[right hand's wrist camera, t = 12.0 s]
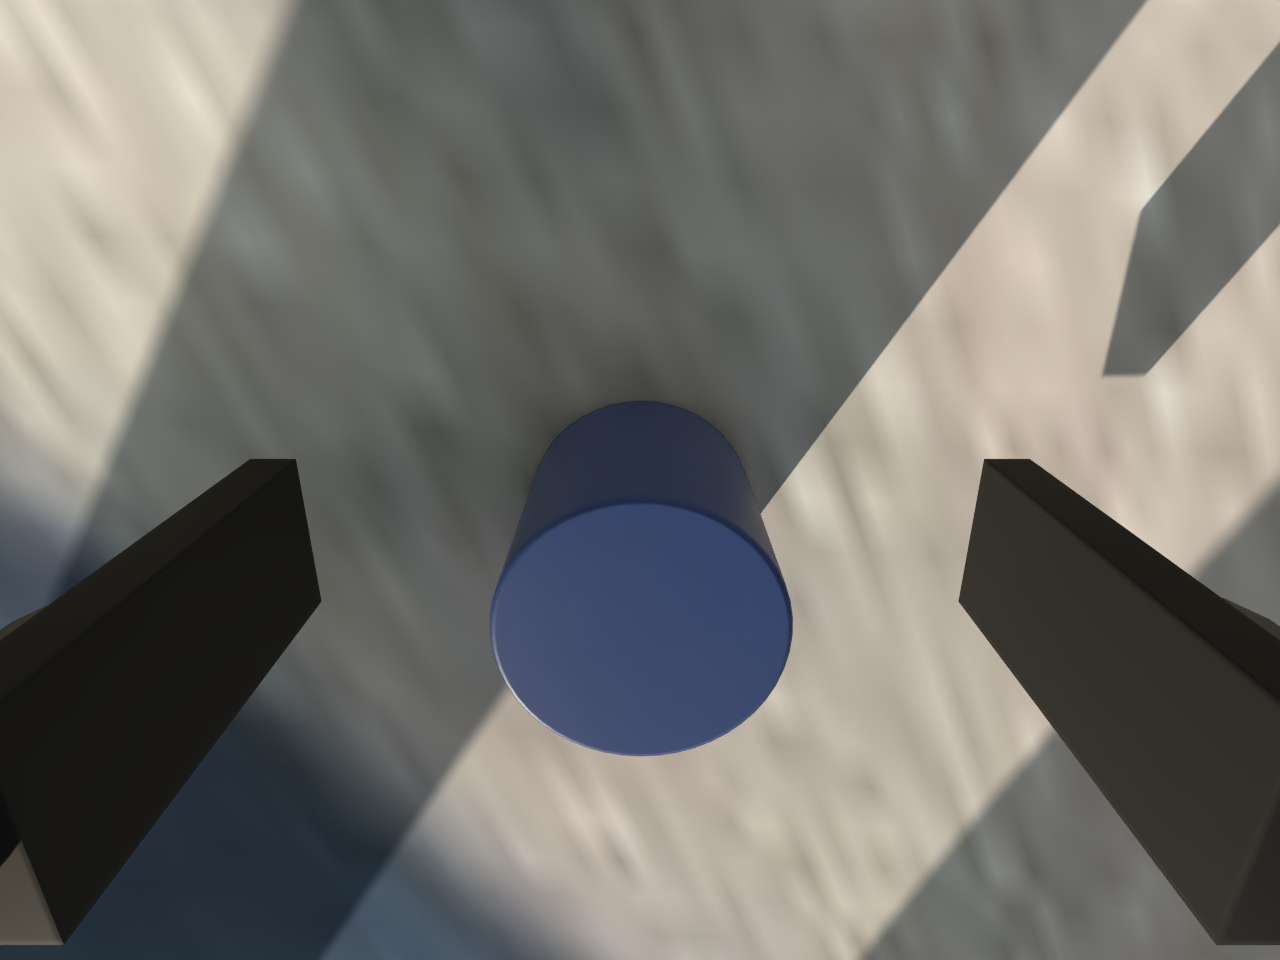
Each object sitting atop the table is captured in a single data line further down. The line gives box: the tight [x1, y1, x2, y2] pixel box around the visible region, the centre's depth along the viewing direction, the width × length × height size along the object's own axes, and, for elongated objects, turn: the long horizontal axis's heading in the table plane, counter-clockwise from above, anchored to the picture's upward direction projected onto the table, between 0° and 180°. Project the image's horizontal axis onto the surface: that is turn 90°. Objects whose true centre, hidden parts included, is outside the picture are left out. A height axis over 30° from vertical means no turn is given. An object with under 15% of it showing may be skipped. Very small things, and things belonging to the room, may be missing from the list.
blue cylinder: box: [490, 401, 793, 756], centre depth 12 cm, size 4×4×4 cm
